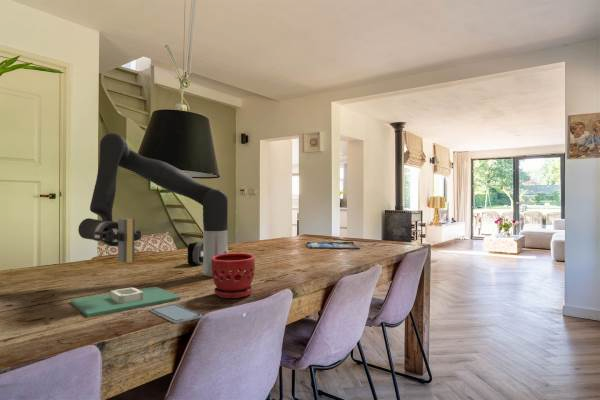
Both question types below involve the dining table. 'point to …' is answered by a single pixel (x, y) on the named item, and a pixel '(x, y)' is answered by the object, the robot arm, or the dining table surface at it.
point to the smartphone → (176, 313)
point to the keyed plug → (126, 240)
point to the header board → (123, 300)
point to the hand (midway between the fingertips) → (129, 237)
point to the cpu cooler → (195, 253)
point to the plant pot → (233, 274)
